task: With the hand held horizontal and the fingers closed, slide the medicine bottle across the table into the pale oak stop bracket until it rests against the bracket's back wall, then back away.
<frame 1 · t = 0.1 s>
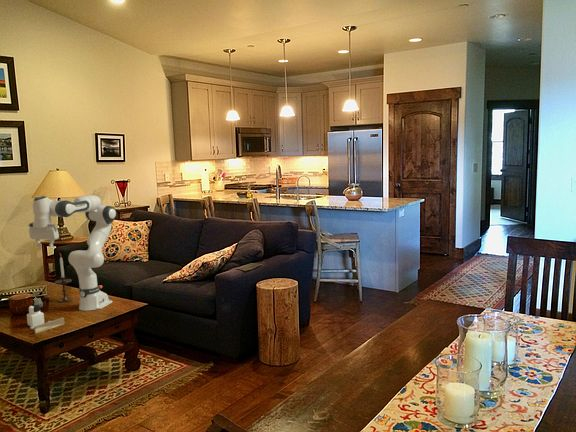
hand: (45, 246, 288), 48 cm above the table, tool pointing down, fingers open, 8 cm apart
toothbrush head: (35, 304, 335), on the table
candlestick: (65, 300, 340), on the table
medicine bottle: (36, 325, 293), on the table
oak stop bracket: (44, 327, 288), on the table
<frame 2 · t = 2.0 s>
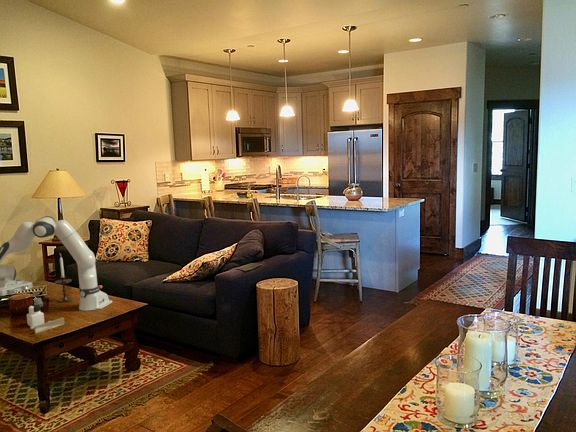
hand: (21, 290, 296), 20 cm above the table, tool horizontal, fingers open, 5 cm apart
nothing on the table moved.
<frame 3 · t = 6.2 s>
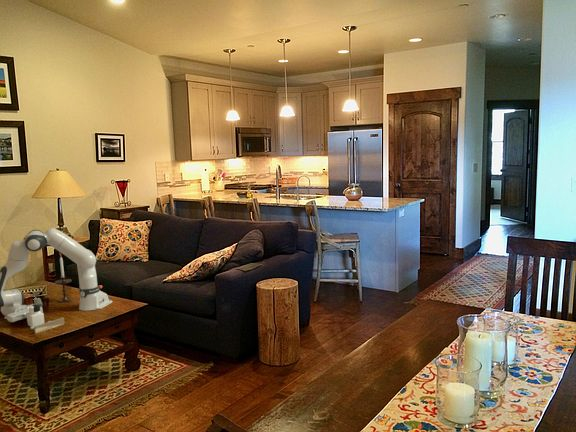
hand: (32, 315, 294), 5 cm above the table, tool horizontal, fingers closed
medicine bottle: (36, 325, 293), on the table, touching gripper
everything else where it was.
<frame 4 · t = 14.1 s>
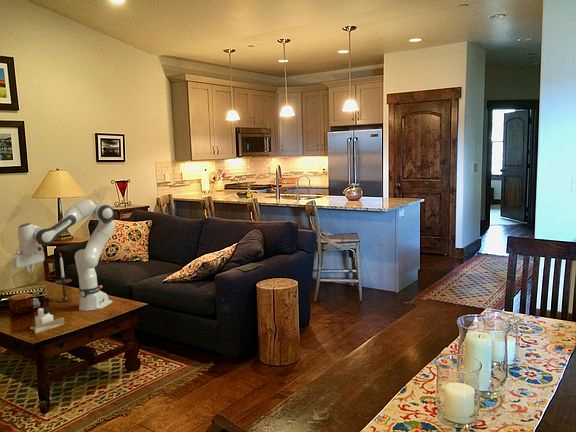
hand: (30, 271, 297), 31 cm above the table, tool pointing down, fingers closed
medicine bottle: (45, 327, 288), on the table
at the end: medicine bottle 0.0 cm off-centre on the oak stop bracket, point 0.0 cm above the oak stop bracket's base; medicine bottle tilted 0°; medicine bottle moved 9.4 cm from its start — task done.
